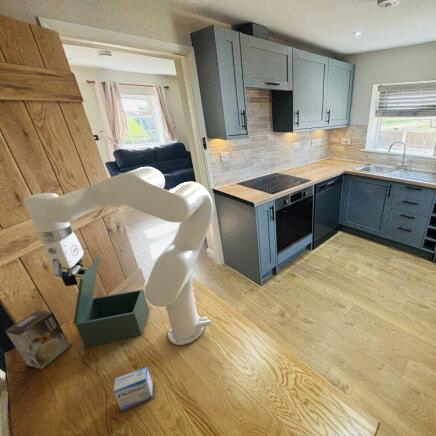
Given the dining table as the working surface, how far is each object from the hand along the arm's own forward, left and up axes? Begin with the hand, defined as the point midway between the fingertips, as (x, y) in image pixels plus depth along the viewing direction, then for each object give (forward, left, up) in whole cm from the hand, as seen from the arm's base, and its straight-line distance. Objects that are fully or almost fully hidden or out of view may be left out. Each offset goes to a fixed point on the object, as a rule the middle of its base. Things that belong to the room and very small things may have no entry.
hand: (75, 279), depth 81 cm
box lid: (-2, 0, -5) cm, 5 cm away
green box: (-7, 0, -25) cm, 26 cm away
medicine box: (-20, +31, -25) cm, 45 cm away
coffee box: (+12, +7, -25) cm, 28 cm away
